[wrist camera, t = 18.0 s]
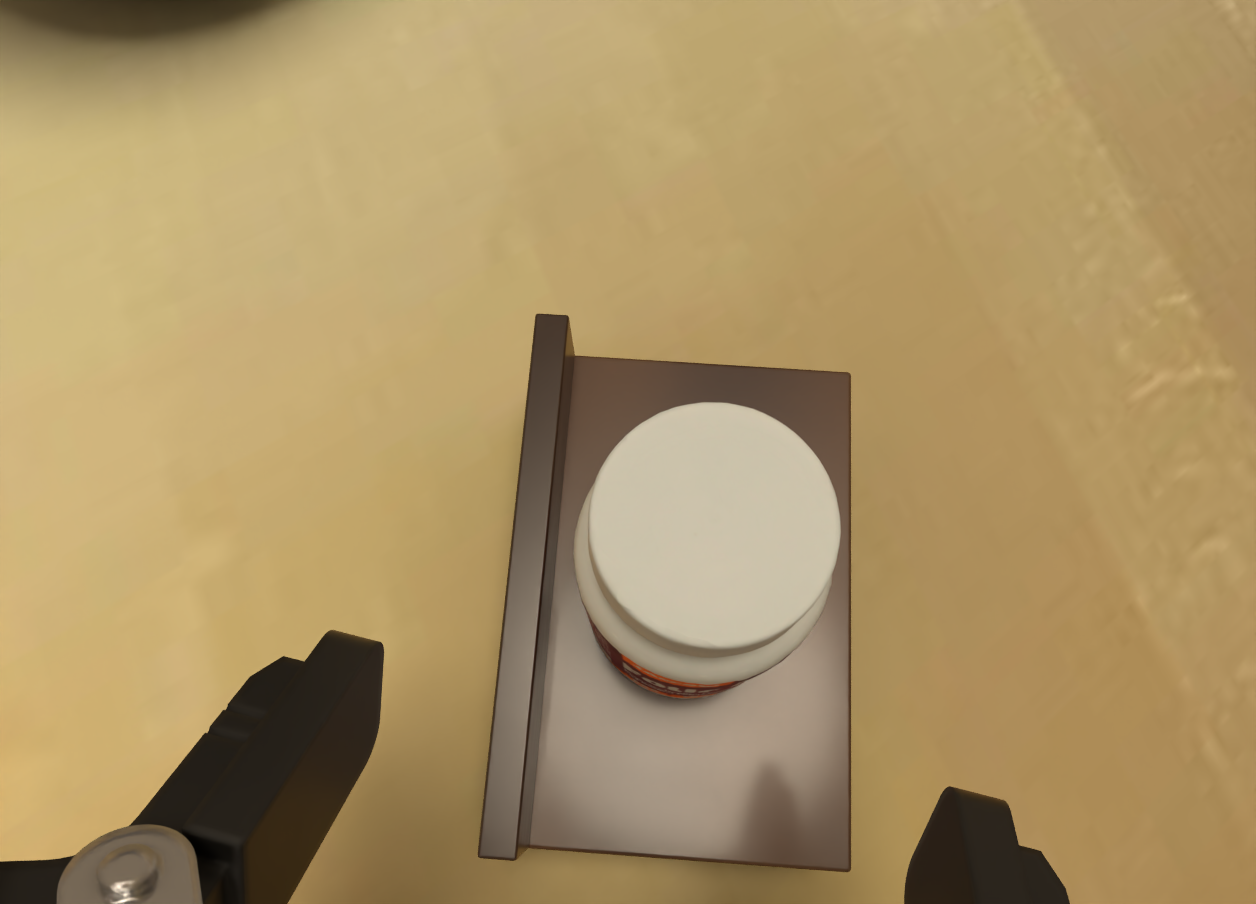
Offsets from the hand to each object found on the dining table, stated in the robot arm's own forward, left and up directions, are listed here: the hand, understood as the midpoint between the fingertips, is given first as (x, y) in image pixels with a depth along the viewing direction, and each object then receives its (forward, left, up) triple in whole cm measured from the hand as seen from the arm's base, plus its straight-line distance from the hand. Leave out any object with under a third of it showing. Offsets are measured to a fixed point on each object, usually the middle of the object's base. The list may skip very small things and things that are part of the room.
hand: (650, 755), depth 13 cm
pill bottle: (-1, -4, -9) cm, 10 cm away
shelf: (-1, -4, -13) cm, 13 cm away
